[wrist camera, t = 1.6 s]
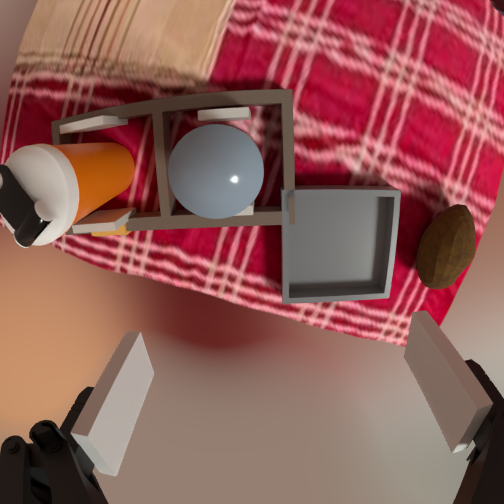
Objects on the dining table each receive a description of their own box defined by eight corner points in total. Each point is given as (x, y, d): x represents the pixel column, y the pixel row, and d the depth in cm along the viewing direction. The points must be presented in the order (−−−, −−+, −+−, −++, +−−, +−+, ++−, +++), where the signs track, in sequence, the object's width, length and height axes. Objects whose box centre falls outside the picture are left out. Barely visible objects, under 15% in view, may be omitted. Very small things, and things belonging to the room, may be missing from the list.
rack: (63, 121, 36) (33, 122, 29) (289, 92, 35) (295, 84, 28) (76, 231, 42) (51, 248, 35) (292, 221, 40) (298, 239, 34)
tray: (280, 185, 39) (281, 190, 36) (391, 186, 38) (400, 190, 35) (281, 292, 44) (282, 303, 41) (381, 287, 43) (388, 297, 41)
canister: (199, 129, 37) (164, 128, 23) (261, 126, 36) (261, 121, 22) (203, 188, 39) (172, 220, 25) (263, 186, 39) (265, 217, 25)
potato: (399, 274, 43) (421, 300, 35) (423, 190, 38) (452, 203, 31) (441, 280, 43) (466, 305, 36) (466, 203, 38) (497, 218, 31)
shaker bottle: (109, 121, 36) (5, 126, 17) (155, 166, 38) (69, 201, 20) (72, 171, 38) (-31, 208, 20) (114, 214, 41) (24, 277, 22)
